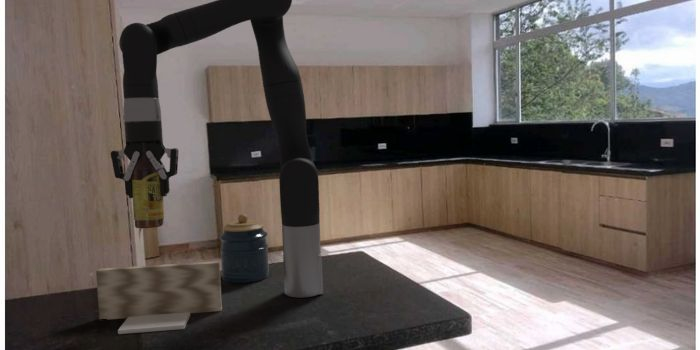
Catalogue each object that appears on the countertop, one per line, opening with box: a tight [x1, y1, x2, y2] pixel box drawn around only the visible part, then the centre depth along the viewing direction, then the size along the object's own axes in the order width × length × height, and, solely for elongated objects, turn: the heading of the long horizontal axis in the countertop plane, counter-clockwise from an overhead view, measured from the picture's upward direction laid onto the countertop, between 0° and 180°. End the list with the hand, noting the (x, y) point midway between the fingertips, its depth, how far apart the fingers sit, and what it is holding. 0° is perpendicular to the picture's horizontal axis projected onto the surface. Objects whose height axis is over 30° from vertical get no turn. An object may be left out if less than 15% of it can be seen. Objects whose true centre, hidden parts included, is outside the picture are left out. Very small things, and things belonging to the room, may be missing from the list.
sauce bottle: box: [132, 142, 165, 229], centre depth 117 cm, size 6×6×20 cm
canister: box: [219, 213, 270, 284], centre depth 148 cm, size 13×13×18 cm
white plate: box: [117, 312, 191, 335], centre depth 113 cm, size 13×8×1 cm, turn 98°
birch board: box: [95, 260, 223, 320], centre depth 119 cm, size 26×2×11 cm, turn 98°
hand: (148, 196), depth 117 cm, fingers closed on sauce bottle, 6 cm apart
